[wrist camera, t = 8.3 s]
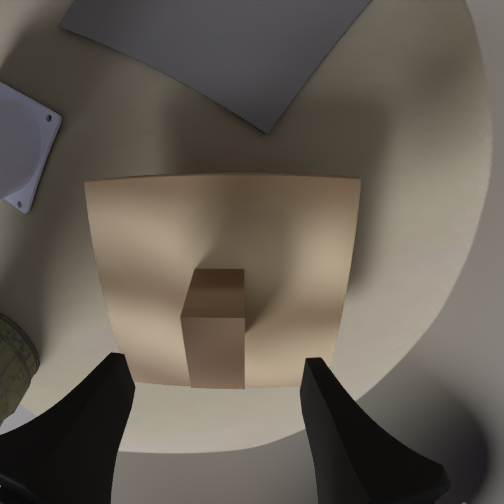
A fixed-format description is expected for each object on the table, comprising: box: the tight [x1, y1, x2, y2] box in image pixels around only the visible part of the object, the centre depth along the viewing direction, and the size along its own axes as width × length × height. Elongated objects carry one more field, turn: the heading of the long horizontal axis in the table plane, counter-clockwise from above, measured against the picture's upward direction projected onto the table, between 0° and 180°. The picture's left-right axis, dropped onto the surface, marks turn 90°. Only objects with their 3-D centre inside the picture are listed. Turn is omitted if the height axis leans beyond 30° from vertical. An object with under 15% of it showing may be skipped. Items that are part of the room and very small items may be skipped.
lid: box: [84, 173, 362, 389], centre depth 14 cm, size 13×13×5 cm
